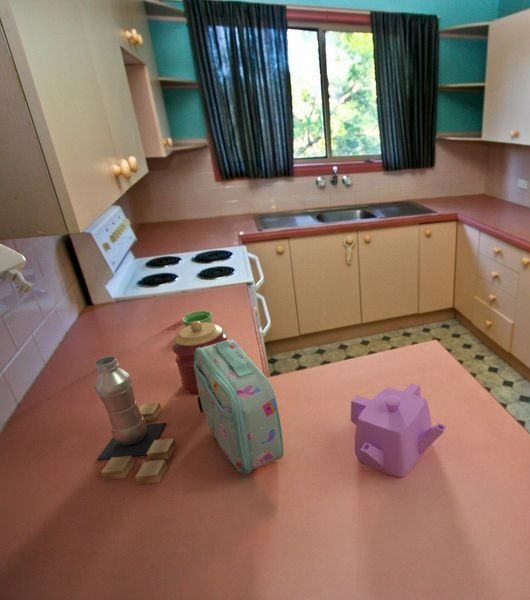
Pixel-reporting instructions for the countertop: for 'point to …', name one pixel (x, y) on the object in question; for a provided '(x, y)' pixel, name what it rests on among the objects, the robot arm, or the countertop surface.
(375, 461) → the teakettle
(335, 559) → the countertop surface
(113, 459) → the tile
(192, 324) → the kitchen canister
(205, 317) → the ramekin
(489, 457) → the countertop surface
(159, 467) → the front tile
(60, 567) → the countertop surface
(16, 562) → the countertop surface
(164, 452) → the tile
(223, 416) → the lunch box
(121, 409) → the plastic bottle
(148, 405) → the back tile
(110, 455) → the mat
